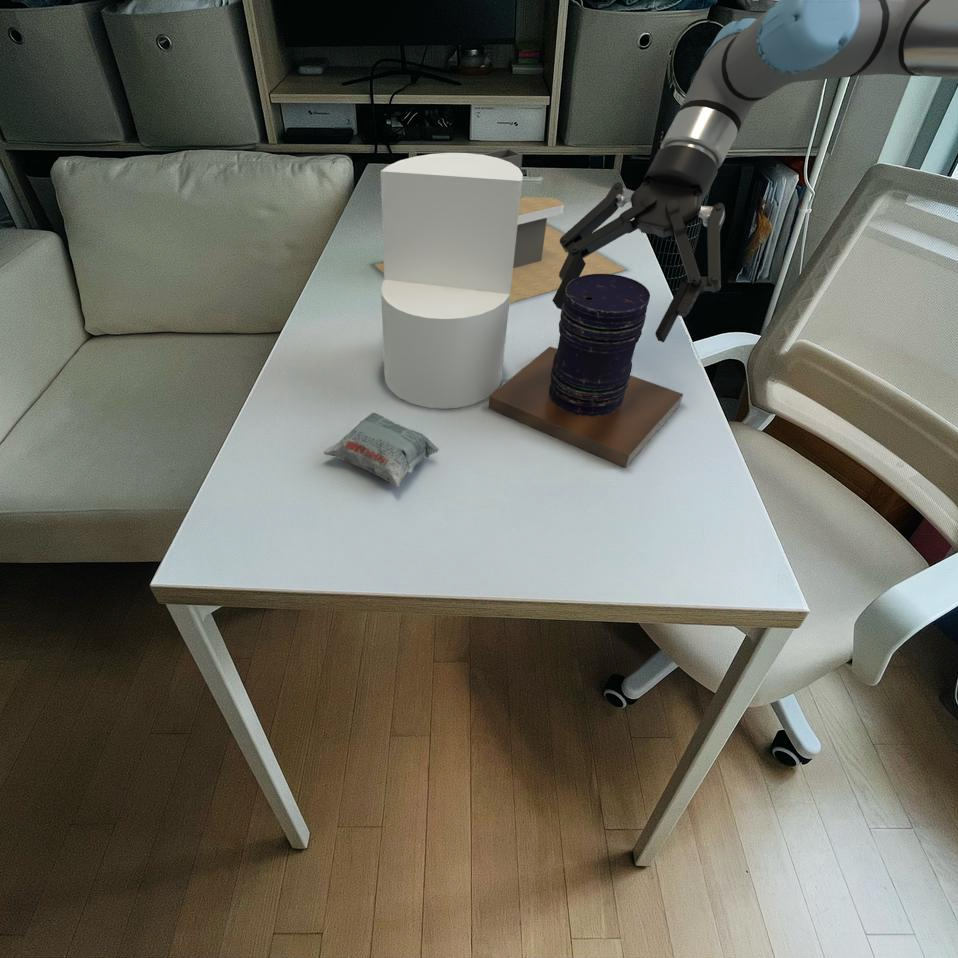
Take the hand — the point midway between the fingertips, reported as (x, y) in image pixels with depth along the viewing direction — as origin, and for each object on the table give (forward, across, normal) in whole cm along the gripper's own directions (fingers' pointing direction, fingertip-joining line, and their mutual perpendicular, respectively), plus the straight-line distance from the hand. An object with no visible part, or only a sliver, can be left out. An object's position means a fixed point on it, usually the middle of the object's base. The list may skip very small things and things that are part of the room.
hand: (606, 321), depth 82 cm
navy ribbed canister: (+9, 0, -6) cm, 11 cm away
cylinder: (+14, +20, -4) cm, 24 cm away
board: (+10, 0, -8) cm, 12 cm away
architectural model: (-11, +33, -28) cm, 45 cm away
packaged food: (+28, +14, +11) cm, 33 cm away
